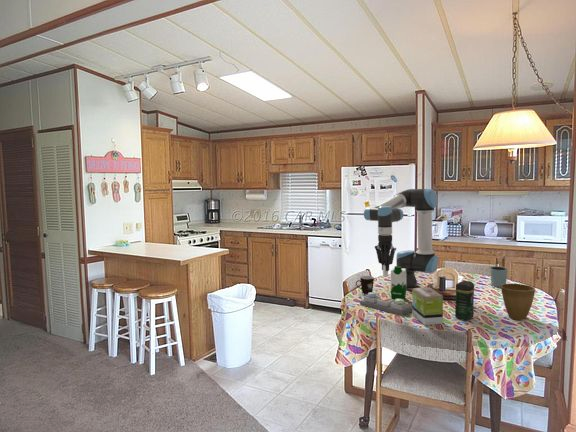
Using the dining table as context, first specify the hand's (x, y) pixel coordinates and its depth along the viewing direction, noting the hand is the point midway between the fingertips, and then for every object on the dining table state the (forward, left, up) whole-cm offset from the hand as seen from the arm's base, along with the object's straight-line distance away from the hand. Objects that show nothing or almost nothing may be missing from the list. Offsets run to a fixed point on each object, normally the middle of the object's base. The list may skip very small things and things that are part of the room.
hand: (385, 276), depth 219 cm
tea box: (-14, +22, -18) cm, 32 cm away
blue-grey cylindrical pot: (-86, -29, -18) cm, 92 cm away
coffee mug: (+3, -30, -18) cm, 35 cm away
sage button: (-5, +7, -14) cm, 17 cm away
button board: (0, 0, -18) cm, 18 cm away
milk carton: (-13, -14, -18) cm, 26 cm away
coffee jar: (-34, +22, -18) cm, 44 cm away
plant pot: (-59, +27, -18) cm, 67 cm away
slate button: (+6, -7, -14) cm, 17 cm away
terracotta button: (0, 0, -15) cm, 15 cm away
